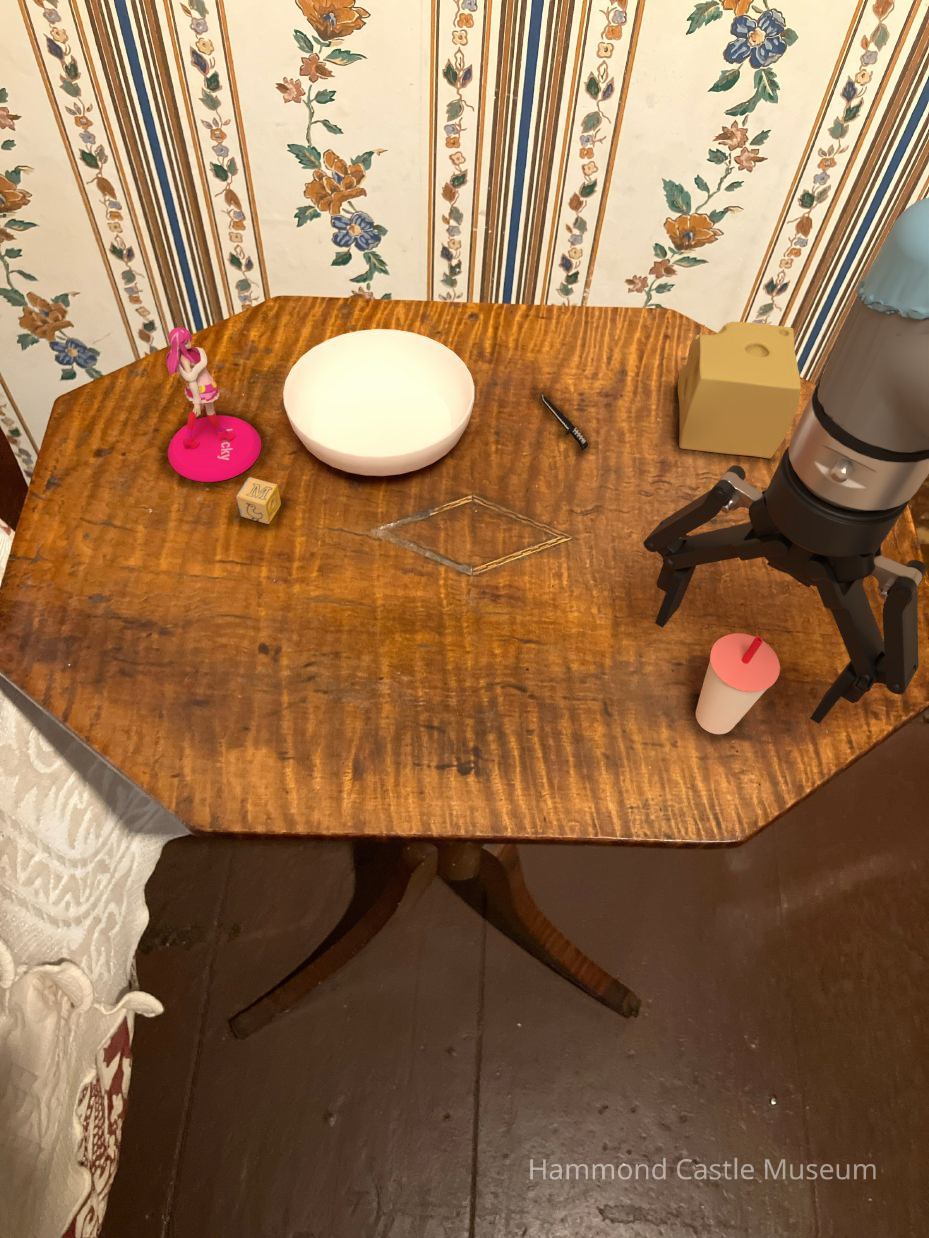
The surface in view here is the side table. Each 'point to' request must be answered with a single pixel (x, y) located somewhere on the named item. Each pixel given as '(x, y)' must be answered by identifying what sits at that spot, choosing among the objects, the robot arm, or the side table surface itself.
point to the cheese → (739, 390)
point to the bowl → (379, 401)
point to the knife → (566, 423)
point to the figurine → (206, 422)
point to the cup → (735, 680)
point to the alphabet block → (258, 500)
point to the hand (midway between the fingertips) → (741, 660)
